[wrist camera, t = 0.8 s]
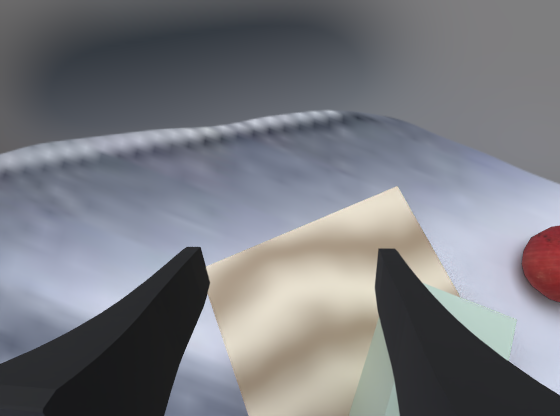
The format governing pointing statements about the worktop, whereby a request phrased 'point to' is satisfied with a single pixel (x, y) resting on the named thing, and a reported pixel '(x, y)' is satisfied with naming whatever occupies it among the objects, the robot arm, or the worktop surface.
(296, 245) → the birch board
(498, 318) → the sage container
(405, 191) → the worktop surface
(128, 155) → the worktop surface
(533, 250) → the red rounded piece
